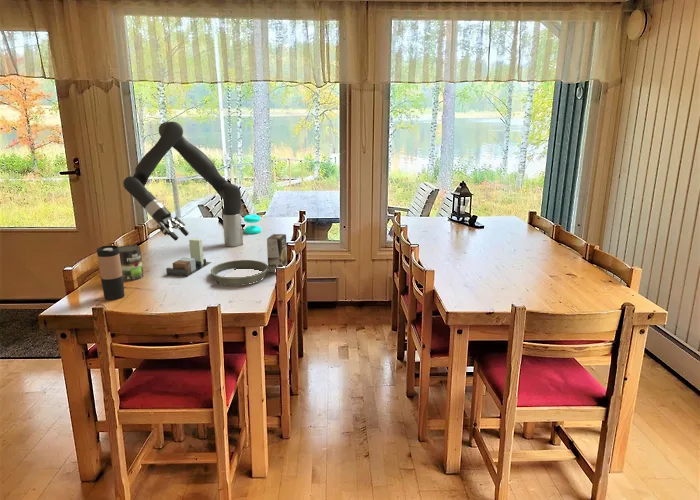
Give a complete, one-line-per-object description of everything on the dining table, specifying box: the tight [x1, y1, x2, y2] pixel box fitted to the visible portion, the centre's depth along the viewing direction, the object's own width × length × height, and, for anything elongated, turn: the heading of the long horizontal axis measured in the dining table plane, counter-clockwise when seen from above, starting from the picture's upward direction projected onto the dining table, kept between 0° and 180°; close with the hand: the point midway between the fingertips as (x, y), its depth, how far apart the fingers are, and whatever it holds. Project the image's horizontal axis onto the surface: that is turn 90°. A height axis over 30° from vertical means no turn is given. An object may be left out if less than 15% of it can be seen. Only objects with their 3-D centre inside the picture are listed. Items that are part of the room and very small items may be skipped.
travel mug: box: [96, 245, 125, 301], centre depth 184 cm, size 8×8×20 cm
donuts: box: [243, 214, 262, 235], centre depth 285 cm, size 10×10×10 cm
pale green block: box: [188, 238, 205, 265], centre depth 222 cm, size 2×5×12 cm, turn 77°
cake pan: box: [210, 259, 268, 286], centre depth 209 cm, size 25×25×4 cm
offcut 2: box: [177, 257, 196, 272], centre depth 215 cm, size 4×6×5 cm, turn 77°
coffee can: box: [118, 244, 144, 282], centre depth 205 cm, size 10×10×14 cm
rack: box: [165, 258, 212, 278], centre depth 218 cm, size 21×10×4 cm, turn 167°
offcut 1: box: [172, 260, 191, 273], centre depth 211 cm, size 4×6×5 cm, turn 77°
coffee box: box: [266, 233, 288, 274], centre depth 217 cm, size 9×6×16 cm
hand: (182, 237), depth 222 cm, fingers open, 8 cm apart
